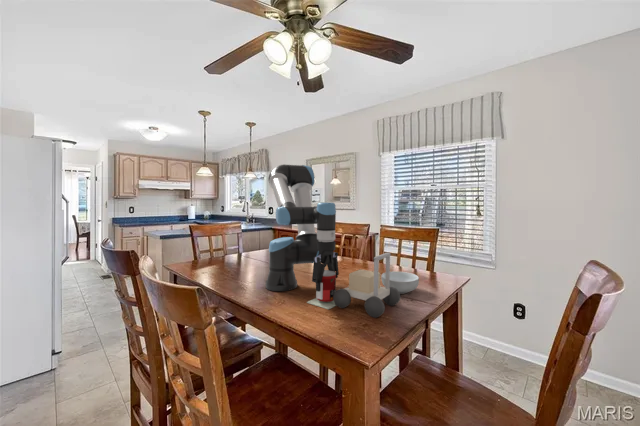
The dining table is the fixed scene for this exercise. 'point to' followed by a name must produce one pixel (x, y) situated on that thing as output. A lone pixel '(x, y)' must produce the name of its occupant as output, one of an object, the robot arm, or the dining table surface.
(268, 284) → the robot arm
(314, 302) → the mat
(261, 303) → the dining table surface
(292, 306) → the dining table surface
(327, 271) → the canned food
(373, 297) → the trolley
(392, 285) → the cereal bowl
